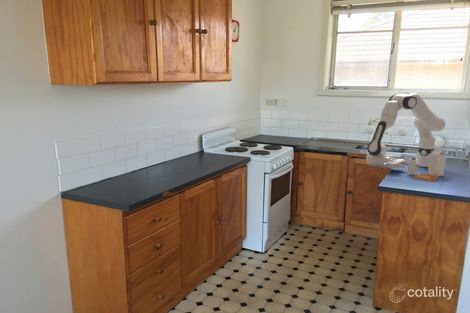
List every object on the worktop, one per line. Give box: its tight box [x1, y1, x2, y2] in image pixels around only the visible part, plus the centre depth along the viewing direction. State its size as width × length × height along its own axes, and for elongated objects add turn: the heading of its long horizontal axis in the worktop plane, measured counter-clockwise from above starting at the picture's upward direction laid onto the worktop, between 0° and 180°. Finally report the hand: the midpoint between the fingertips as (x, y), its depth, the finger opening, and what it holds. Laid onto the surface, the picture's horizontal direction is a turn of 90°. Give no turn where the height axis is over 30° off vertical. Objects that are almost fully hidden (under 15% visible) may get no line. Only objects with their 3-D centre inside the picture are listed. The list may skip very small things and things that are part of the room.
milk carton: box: [427, 147, 447, 177], centre depth 272 cm, size 7×7×19 cm
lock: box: [407, 156, 419, 176], centre depth 273 cm, size 5×6×12 cm
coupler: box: [413, 173, 439, 182], centre depth 263 cm, size 14×12×4 cm
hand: (407, 165), depth 276 cm, fingers open, 8 cm apart
